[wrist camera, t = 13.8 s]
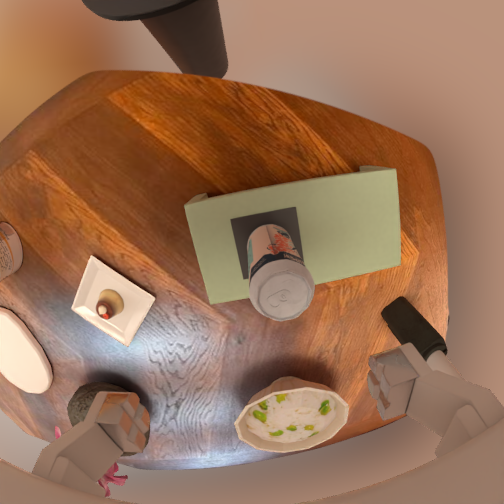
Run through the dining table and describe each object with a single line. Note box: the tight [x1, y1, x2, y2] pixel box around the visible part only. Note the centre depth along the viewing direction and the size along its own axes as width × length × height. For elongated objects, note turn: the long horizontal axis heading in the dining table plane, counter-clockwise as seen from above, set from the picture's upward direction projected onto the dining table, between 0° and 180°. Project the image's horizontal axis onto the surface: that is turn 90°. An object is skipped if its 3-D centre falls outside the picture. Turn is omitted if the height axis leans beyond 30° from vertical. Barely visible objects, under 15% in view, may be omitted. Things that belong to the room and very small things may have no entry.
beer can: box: [247, 224, 315, 321], centre depth 25 cm, size 5×5×12 cm
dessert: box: [72, 255, 155, 347], centre depth 40 cm, size 12×12×5 cm
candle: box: [382, 297, 466, 381], centre depth 32 cm, size 5×5×25 cm
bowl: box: [234, 376, 349, 453], centre depth 44 cm, size 19×19×10 cm
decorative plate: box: [0, 307, 53, 393], centre depth 44 cm, size 25×4×25 cm
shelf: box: [184, 165, 401, 304], centre depth 35 cm, size 12×24×8 cm, turn 101°
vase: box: [55, 382, 150, 497], centre depth 35 cm, size 17×18×30 cm
